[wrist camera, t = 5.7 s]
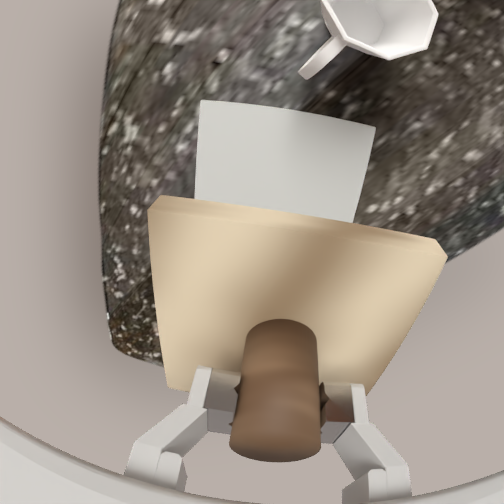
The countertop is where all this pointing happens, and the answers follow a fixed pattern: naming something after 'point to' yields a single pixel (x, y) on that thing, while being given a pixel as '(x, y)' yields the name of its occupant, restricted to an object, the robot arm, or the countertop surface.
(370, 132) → the mat
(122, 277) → the countertop surface
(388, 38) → the cup
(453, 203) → the countertop surface
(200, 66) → the countertop surface
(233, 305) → the lid
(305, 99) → the countertop surface
